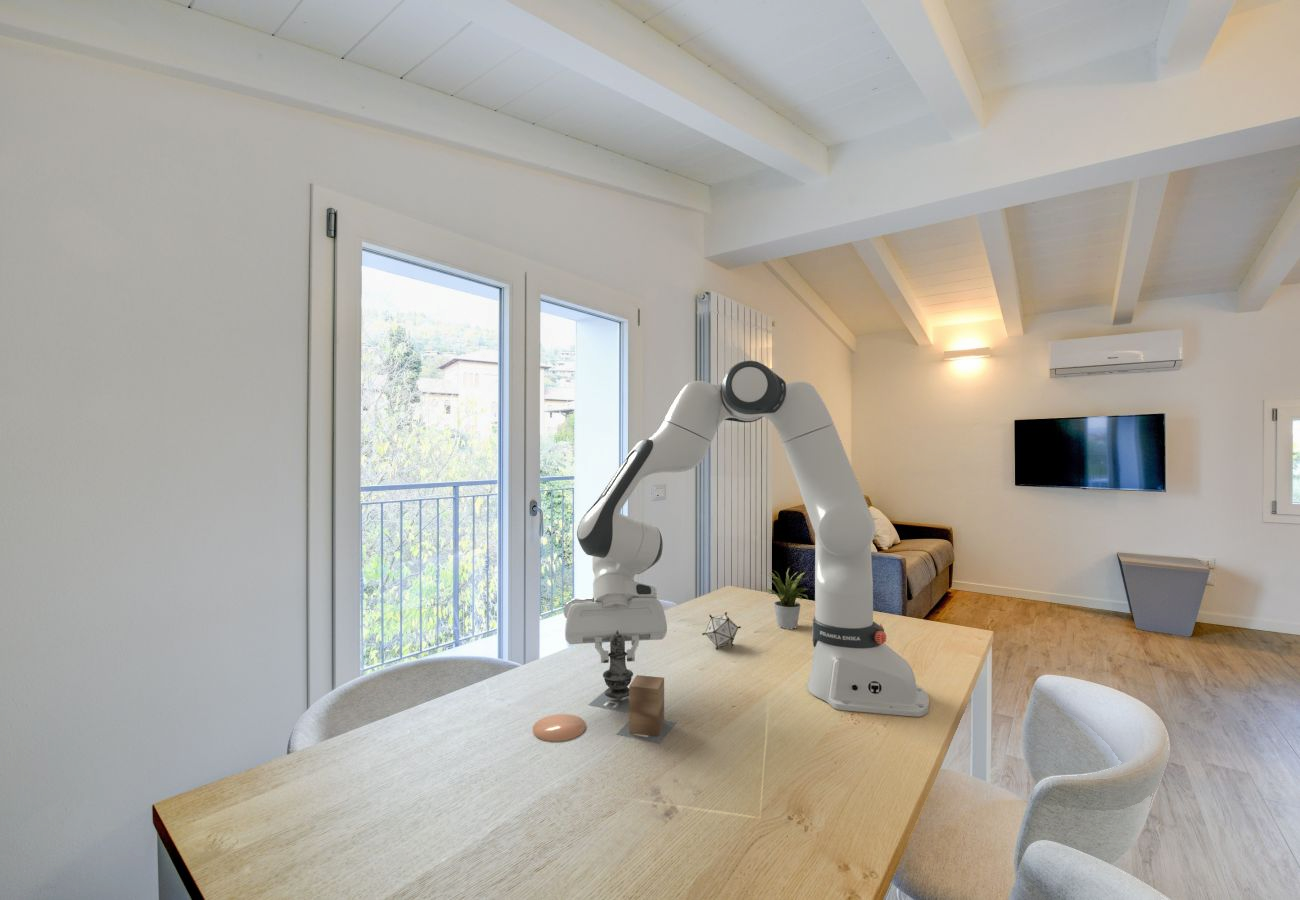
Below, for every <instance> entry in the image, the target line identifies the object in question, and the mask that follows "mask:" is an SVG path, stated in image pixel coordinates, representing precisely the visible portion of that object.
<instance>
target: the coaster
mask: <svg viewBox="0 0 1300 900" xmlns="http://www.w3.org/2000/svg"><path fill="white" fill-rule="evenodd" d="M585 730H586V721H585V720H584V719H583V718H582V717H580V716H578V715H573V714H567V713H557V714H552V715H547V716H545V717H542V718H541V719H538V720H536V722H535V723H534V724H533V727H532V733H534V734H533V735H534V737H536V738H537V737H538V738H537V739H539V738H540V740H542V739H543V741H545V740H548V741H547V742H565V741H568V740H569V739H570V740H573V739H574V738H575V739H576V738H578V737H579V736H580V735H582V734H583V733H584V732H585ZM564 740H565V741H564Z"/></svg>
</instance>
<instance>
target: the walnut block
mask: <svg viewBox="0 0 1300 900" xmlns="http://www.w3.org/2000/svg"><path fill="white" fill-rule="evenodd" d="M628 686H629V687H628V688H629V710H628V713H629V714H628V715H629V716H628V717H629V718H628V719H629V721H628V722H629V733H631V734H640V735H648V736H657V737H658V736H659V733H660V731H661V729H662V727H663V725H664V720H665V677H664V676H663V677H662V676H650V675H639V674H637V675H635V677H634V679H633V680H632V681H631V682H630V684H629V685H628Z"/></svg>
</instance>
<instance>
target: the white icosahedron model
mask: <svg viewBox="0 0 1300 900" xmlns="http://www.w3.org/2000/svg"><path fill="white" fill-rule="evenodd" d="M709 618H710V619H709V623H708V625H707V627H706V630H705V632H702V633H701V635H702V636H707V638H708V639H709V640H710V641H711V642H712V643H713V644H714V645H715V646H716V647H715V650H716V649H717V650H719V647H723V646H724V647H725V646H729V645H731V647H733V646H734V647H735V644H733V643H734V640H735V637H736V635H737V632H738V629H741V628H742V626H740V625H739V626H738V625H737V624H736V623H734V622H733V620H732V619H731V618H730V617H729V616H728V612H727V611H726V612H724V614H723V615H722V614H721V615H715V616H712V615H711V614H709Z"/></svg>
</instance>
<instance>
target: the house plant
mask: <svg viewBox="0 0 1300 900" xmlns="http://www.w3.org/2000/svg"><path fill="white" fill-rule="evenodd" d="M790 567H791V566H789V567H788V568H787V570H786V572H785V575H786V576H785V585H784V583H783V581H782V579H781V576H780V575H779V573H778V572H777V571H776V570H772V571H774V573H773V572H772V571H770V573H769V574H770V575H771V576H772V577H771V576H770V575H768V576H769V577H770V579H771V582H772V583H773V585H774V586H775V588H776V590H777V592H778V593H777V592H776V591H775V590H774V589H770V588H768V589H766V590H765V592H769V593H767V594H768V595H769V594H771V595H772V594H773V595H776V596H777V597H778V599H779V600H777V601H775V602H774V603H773V605H774V609H775V617H776V623H777V627H778V626H780V627H783V628H795V627H797V628H798V622H799V615H800V609H801V603H799V602H797V601H796V600H797V598H798V599H800V600H801V601H802V600H803V597H805V598H806V599H807V600H809V597H808V595H807V594H805V593H802V592H804V591H809V588H806V587H799V588H797V587H798V586H799V583H800V582H801V580H802V581H803V580H805V579H809V578H810V577H806V578H803V579H802V577H803V575H805V573H806V571H805V572H802V573H800V574H799V575H797V577H796V578H795V579H794V580H792V578H793V577H794V576H795V575H796V574H797V572H795V573H794V574H793V575H792V576H791V578H790V576H789V571H790ZM760 573H762V574H763V572H761V571H760ZM775 573H776V574H777V576H778V577H777V576H776V574H775ZM772 578H773V579H772ZM800 595H801V596H800ZM802 596H803V597H802Z"/></svg>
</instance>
